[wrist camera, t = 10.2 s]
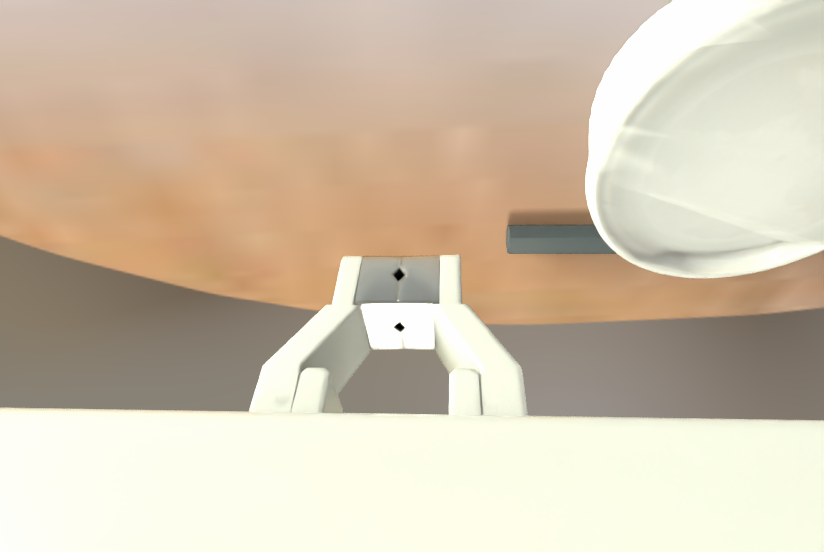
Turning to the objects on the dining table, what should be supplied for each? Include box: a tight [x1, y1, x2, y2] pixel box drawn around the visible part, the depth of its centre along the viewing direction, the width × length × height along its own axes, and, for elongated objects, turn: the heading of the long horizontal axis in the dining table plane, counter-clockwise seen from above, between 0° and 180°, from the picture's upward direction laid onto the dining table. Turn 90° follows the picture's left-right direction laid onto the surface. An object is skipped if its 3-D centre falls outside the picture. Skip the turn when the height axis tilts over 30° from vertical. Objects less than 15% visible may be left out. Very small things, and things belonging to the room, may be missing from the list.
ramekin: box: [585, 0, 824, 278], centre depth 18 cm, size 11×11×5 cm
